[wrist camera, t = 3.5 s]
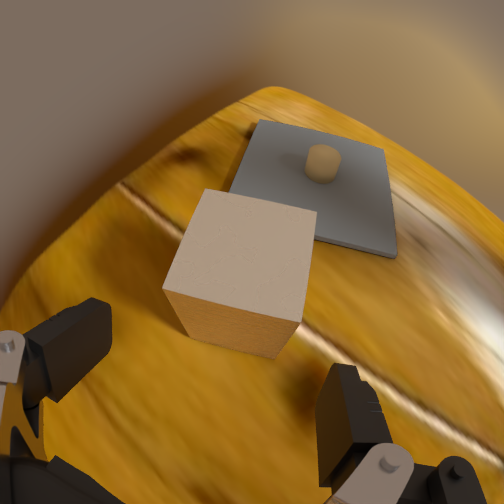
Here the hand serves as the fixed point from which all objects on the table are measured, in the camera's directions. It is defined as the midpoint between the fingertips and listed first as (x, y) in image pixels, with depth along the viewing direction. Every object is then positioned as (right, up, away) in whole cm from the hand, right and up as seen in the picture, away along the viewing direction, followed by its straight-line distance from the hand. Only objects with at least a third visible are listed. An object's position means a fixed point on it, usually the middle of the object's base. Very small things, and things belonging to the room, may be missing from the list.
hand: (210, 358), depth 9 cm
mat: (+8, +11, +19) cm, 24 cm away
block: (+1, -1, +11) cm, 11 cm away
